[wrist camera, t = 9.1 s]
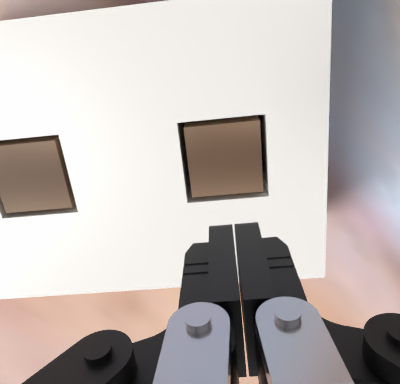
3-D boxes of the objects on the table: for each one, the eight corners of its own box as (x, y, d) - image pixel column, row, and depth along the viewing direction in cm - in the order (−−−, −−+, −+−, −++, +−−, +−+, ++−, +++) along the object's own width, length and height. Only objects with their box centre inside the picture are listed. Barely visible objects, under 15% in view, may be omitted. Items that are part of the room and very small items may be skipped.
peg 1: (39, 121, 27) (-17, 147, 20) (93, 115, 26) (54, 140, 20) (53, 173, 28) (5, 213, 22) (104, 168, 28) (72, 207, 22)
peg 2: (190, 105, 26) (183, 127, 20) (248, 99, 26) (260, 120, 19) (197, 159, 27) (192, 197, 21) (251, 155, 27) (263, 191, 21)
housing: (-27, 36, 26) (-125, 36, 18) (296, -3, 24) (332, -20, 17) (36, 239, 32) (-18, 300, 24) (297, 218, 30) (325, 277, 23)
